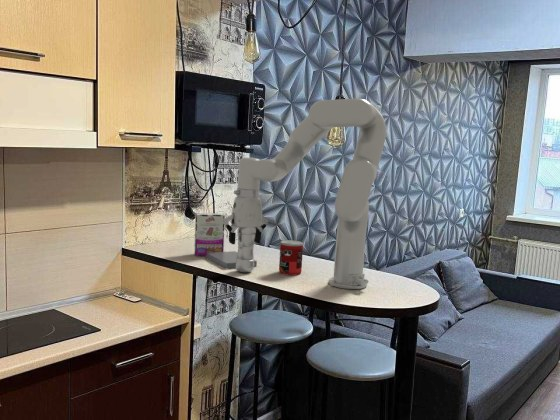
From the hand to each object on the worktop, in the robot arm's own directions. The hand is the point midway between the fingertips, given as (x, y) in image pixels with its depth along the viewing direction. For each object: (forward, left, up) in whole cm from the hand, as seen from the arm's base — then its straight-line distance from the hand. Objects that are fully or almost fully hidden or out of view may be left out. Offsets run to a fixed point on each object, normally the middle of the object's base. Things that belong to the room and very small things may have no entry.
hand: (244, 243), depth 188 cm
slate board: (+15, -2, -10) cm, 18 cm away
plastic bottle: (0, 0, -10) cm, 10 cm away
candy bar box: (+29, +1, -10) cm, 31 cm away
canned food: (-6, -15, -10) cm, 20 cm away
